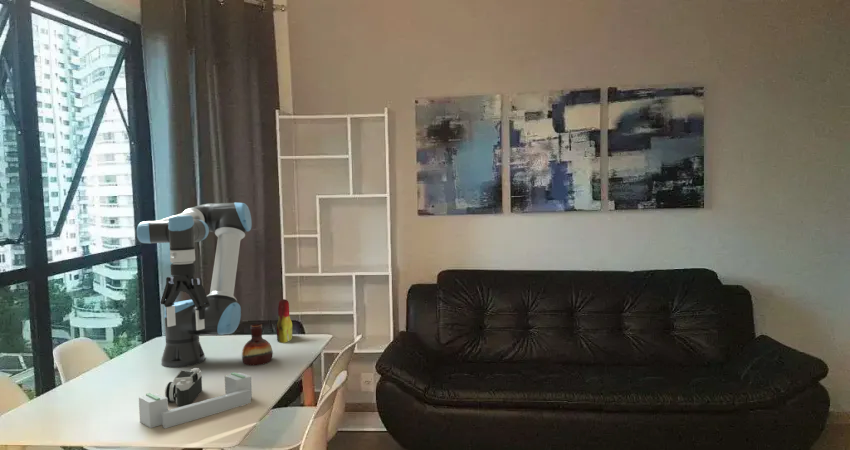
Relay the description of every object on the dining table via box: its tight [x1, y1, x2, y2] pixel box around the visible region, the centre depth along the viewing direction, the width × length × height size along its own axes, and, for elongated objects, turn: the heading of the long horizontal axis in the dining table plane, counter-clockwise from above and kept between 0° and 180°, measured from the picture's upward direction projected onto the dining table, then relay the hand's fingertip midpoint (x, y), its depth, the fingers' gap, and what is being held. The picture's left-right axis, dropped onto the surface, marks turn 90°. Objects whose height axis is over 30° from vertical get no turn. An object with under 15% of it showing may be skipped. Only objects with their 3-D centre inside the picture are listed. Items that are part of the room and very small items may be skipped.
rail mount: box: [138, 371, 253, 429], centre depth 177 cm, size 10×31×8 cm, turn 137°
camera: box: [164, 367, 203, 408], centre depth 187 cm, size 16×9×10 cm, turn 4°
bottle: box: [276, 298, 293, 344], centre depth 254 cm, size 12×6×20 cm, turn 1°
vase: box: [241, 323, 274, 366], centre depth 224 cm, size 11×11×15 cm
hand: (185, 327), depth 197 cm, fingers open, 13 cm apart
